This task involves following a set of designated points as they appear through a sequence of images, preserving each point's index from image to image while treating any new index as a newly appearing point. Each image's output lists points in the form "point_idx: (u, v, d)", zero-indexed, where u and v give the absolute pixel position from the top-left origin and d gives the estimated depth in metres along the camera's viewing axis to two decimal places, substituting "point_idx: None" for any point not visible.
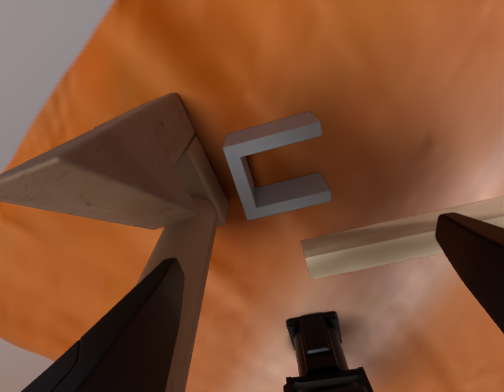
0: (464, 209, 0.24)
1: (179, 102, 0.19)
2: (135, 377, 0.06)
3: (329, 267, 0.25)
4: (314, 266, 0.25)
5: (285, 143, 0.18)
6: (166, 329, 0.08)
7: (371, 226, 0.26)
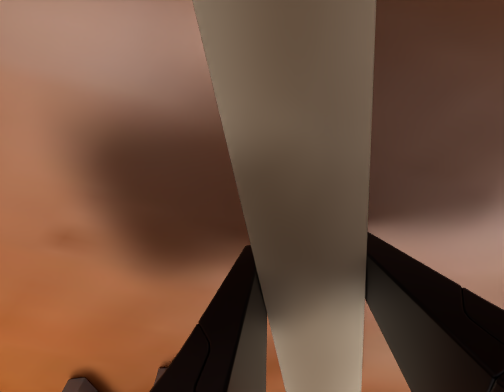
0: None
1: None
2: (253, 363, 0.06)
3: None
4: None
5: None
6: (262, 316, 0.07)
7: None
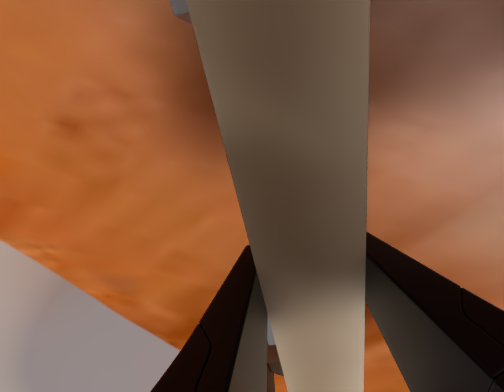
0: None
1: None
2: (254, 363, 0.06)
3: None
4: None
5: None
6: (262, 316, 0.07)
7: None
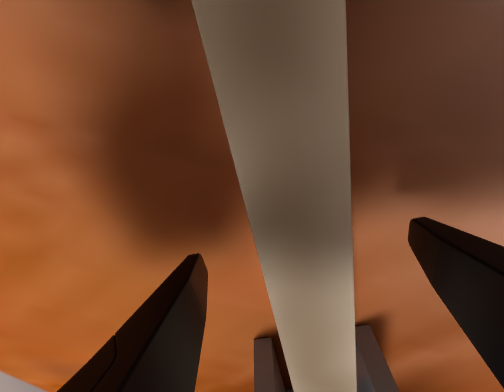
0: None
1: None
2: (170, 373, 0.06)
3: None
4: None
5: None
6: (194, 325, 0.08)
7: None
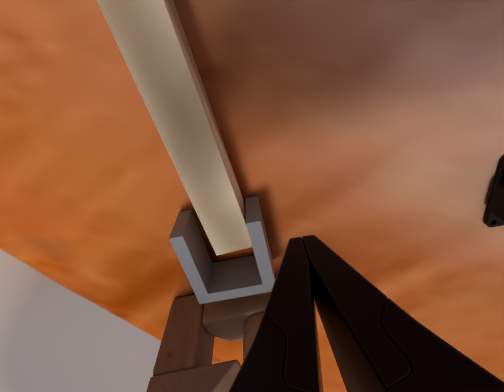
0: None
1: (177, 302, 0.25)
2: (318, 355, 0.06)
3: (230, 229, 0.19)
4: (230, 245, 0.19)
5: (192, 263, 0.19)
6: (314, 309, 0.07)
7: None
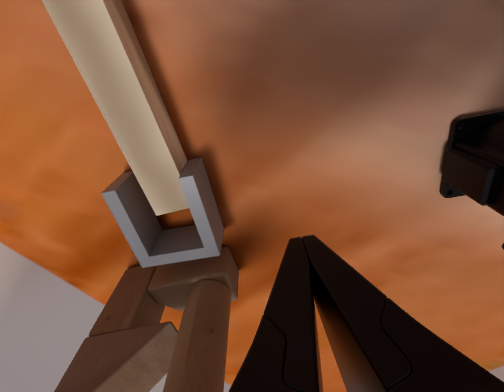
0: None
1: (129, 271, 0.25)
2: (318, 355, 0.06)
3: (167, 186, 0.18)
4: (169, 204, 0.19)
5: (129, 222, 0.19)
6: (314, 309, 0.07)
7: None
